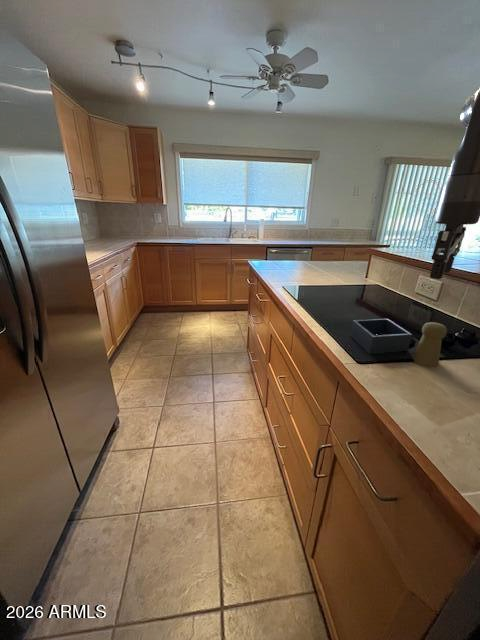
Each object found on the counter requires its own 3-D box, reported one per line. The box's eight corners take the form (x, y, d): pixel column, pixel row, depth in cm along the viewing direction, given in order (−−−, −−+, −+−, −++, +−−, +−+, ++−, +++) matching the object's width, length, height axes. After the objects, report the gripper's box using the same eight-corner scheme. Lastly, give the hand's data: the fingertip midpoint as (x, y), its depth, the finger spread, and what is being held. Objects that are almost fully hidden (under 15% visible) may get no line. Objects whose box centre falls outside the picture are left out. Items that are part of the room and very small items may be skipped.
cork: (406, 357, 73) (416, 321, 68) (423, 353, 75) (433, 318, 70) (426, 369, 68) (438, 330, 63) (444, 364, 69) (456, 327, 65)
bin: (383, 333, 86) (387, 318, 84) (407, 351, 76) (412, 334, 73) (350, 336, 85) (352, 320, 83) (369, 354, 75) (373, 337, 73)
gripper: (479, 199, 48) (453, 284, 55) (489, 199, 57) (465, 272, 64) (432, 200, 53) (412, 278, 60) (448, 200, 62) (429, 267, 69)
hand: (440, 275), depth 62 cm, fingers open, 8 cm apart
